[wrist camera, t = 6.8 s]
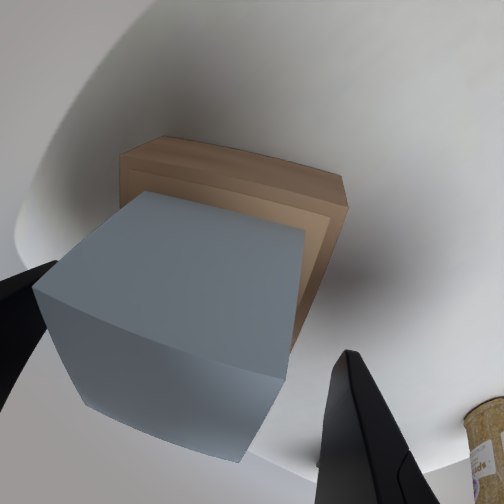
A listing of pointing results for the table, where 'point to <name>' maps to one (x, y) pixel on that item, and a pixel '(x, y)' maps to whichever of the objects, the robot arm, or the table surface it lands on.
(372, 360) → the table surface
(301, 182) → the base block
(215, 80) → the table surface
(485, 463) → the sprinkles bottle
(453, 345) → the table surface
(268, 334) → the blue cube
